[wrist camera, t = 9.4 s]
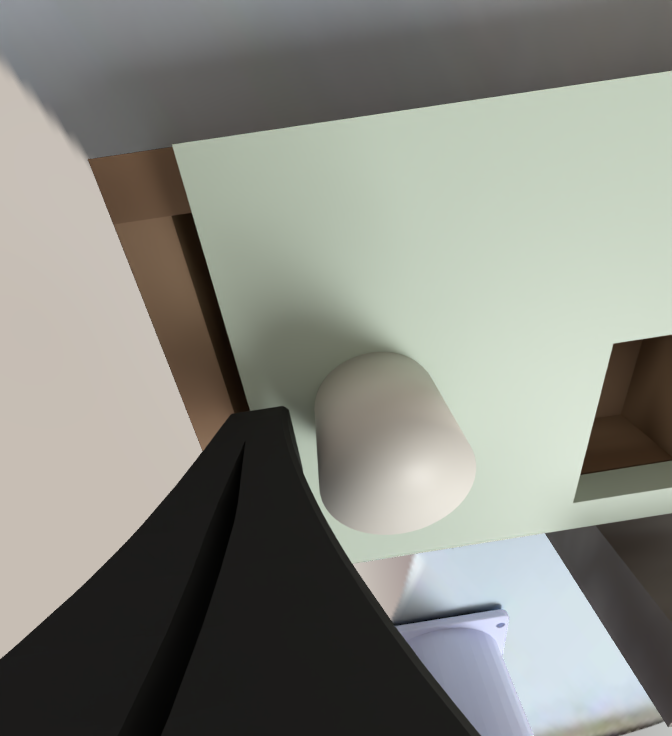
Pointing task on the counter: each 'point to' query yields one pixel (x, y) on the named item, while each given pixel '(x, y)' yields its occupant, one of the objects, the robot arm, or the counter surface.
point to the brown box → (213, 349)
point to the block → (629, 592)
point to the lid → (447, 303)
